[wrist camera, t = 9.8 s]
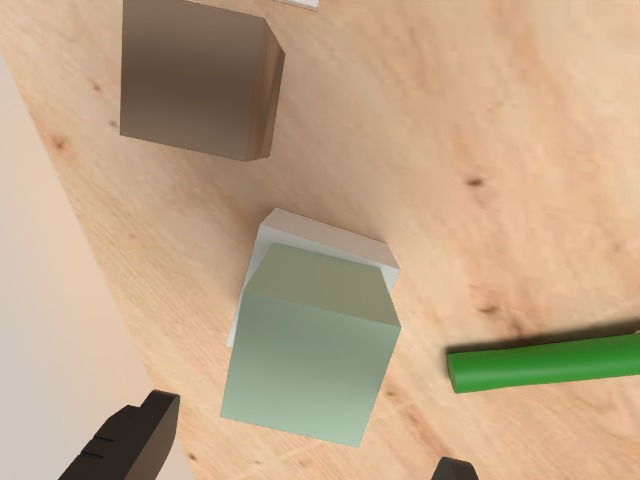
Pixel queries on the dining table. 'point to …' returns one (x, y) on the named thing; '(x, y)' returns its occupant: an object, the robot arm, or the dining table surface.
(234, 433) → the dining table surface
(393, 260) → the grey base block
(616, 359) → the green onion
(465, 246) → the dining table surface
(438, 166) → the dining table surface
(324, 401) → the sage block
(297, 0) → the card
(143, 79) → the walnut block
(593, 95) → the dining table surface
